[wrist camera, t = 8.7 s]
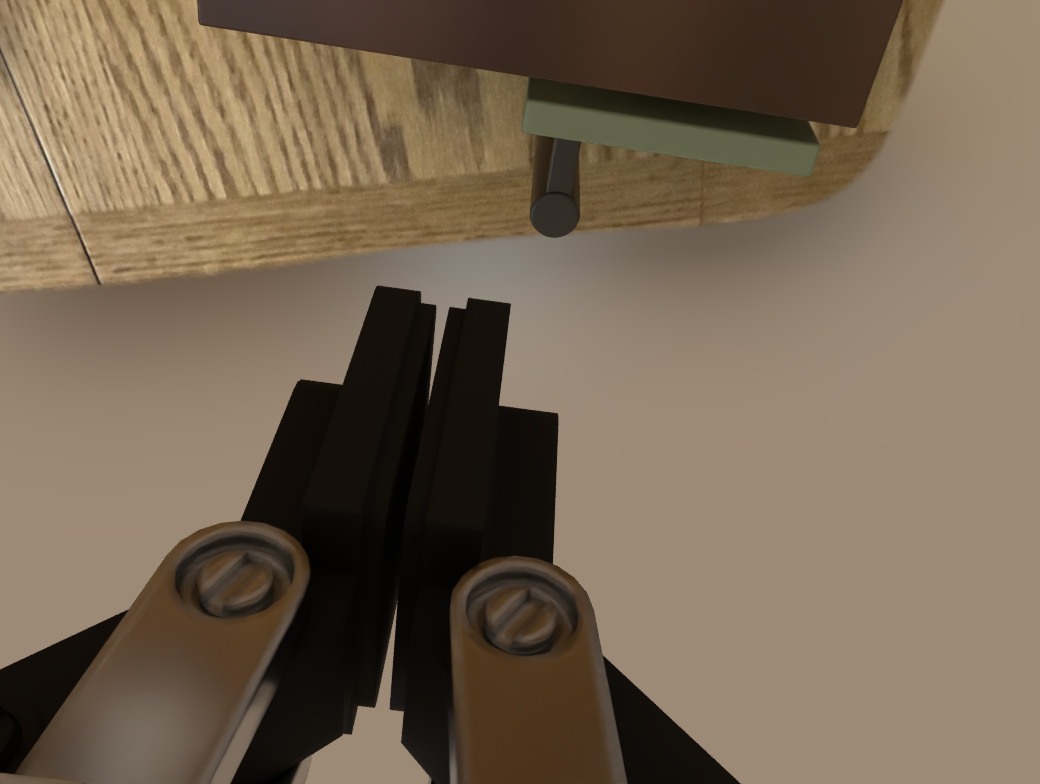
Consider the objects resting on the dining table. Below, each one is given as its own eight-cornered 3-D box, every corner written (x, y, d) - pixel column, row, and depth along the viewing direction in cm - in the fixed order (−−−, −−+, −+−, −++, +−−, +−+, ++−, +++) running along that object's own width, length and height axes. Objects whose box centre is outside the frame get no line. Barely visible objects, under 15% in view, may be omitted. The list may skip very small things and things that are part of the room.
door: (771, 46, 27) (822, 145, 22) (737, 163, 29) (775, 282, 24) (536, 7, 27) (526, 99, 21) (517, 129, 29) (504, 241, 23)
